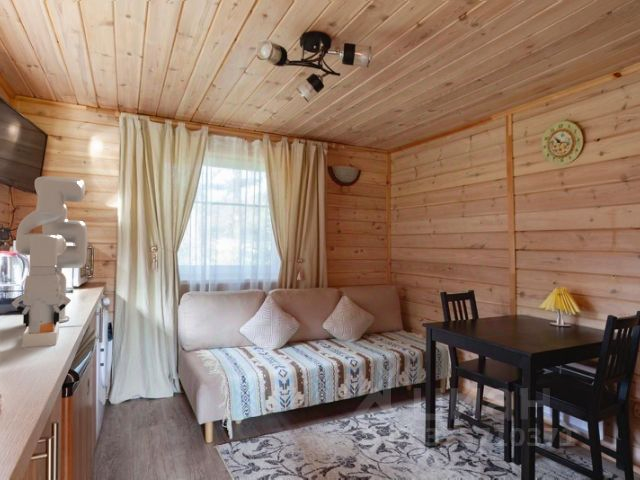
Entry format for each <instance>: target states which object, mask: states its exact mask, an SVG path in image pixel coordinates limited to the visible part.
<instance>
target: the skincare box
mask: <svg viewBox="0 0 640 480" xmlns="http://www.w3.org/2000/svg"><path fill="white" fill-rule="evenodd" d="M54 310H55V309H54V308H53V306H52V305H50V306H47V305H46V304H45V300H35V302H34V306H31V307H30V309H29V324H28V334H32V333H43V332H48V333H50V332H54Z"/></svg>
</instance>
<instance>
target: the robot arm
mask: <svg viewBox="0 0 640 480" xmlns="http://www.w3.org/2000/svg"><path fill="white" fill-rule="evenodd" d="M34 189H35V191H36V195H37V200H36V206H35V207H36V209H35V210H33V211H31V213H29V214H27V215H26V216H25V217H24V218H22V220H21V221H20V223H19V225H18V227H17V231H16V238H15V250H16V251H17V253H18V254H20V255H23V256H29V263H28V264H29V266H28V268H29V269H28V275H26V278H25V280H24V286H23V287H24V288H23V294H22V295H21V296H19V297H17V298H16V299H14V300H13V301H11V305H12V306H13V307H14V308H15V309H16V310H17V311H18V312H20V313H21V314H22V317H23V318H22V319H23V320H22V324H23V325H25V327H26V328H27V327H28V324H29V309H30V307H31V306H34V302H35V300H45V304H46V305H47V306H50V305H52V306H53V308H54V309H55V310H54V325H56V323H58V322H59V324H60V323H65V322H67V321H70V316H68V315H66V307H67V305H69V304H70V302H71V298H69V297H67V277H66V275H65V273H63V269H81V268H84V267H85V266H86V263H87V258H88V228H87V225H86V223H85V222H83V221H82V220H74V219H72V220H71V219H70V220H69V219H68V207H67V205H66V204H65V202H68V203H69V202H71V203H80V202H83V200H84V197H85V194H86V184H85V182H84V180H83V179H80V178H79V179H78V178H71V177H70V178H68V177H60V176H39V177H37V178H36V179H35V180H34ZM39 226H42V231H41V232H42V233H33V232H32V233H30V231H31V230H33V229H35V228H37V227H39ZM67 243H72V244H74V245H67ZM20 302H22V304H23V306H25V307H23V306H22V305H21V304H20Z"/></svg>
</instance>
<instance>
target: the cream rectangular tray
mask: <svg viewBox="0 0 640 480" xmlns="http://www.w3.org/2000/svg"><path fill="white" fill-rule="evenodd" d="M59 334H60V323H59V322H58V323H56V325H54V332H50V333H48V332H43V333H32V334H28V327H26V328H25V331H24V332H23V334H22V338H21V339H22V340H21V341H22V345H21V346H22V349H23V348H34V347H44V346H55V345H57V342H58V339H59Z"/></svg>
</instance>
